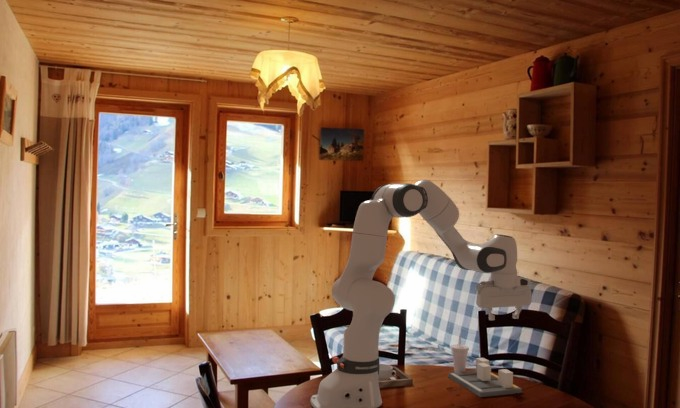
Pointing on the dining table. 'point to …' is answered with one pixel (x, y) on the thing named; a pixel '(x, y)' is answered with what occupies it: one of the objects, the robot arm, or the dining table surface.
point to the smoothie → (459, 356)
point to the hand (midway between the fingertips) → (503, 319)
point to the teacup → (386, 372)
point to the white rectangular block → (483, 371)
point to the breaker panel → (487, 382)
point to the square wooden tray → (399, 382)
